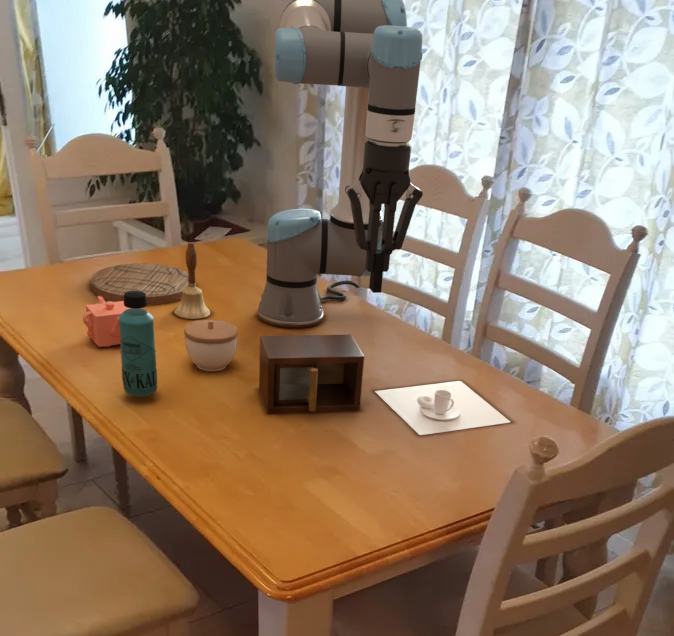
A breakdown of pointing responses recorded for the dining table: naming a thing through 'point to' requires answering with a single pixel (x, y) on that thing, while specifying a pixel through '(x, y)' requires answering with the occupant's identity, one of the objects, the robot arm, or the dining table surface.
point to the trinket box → (211, 343)
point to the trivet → (140, 282)
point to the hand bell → (192, 291)
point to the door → (296, 384)
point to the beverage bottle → (137, 346)
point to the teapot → (104, 322)
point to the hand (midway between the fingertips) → (375, 289)
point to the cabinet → (332, 363)
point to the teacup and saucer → (441, 407)
